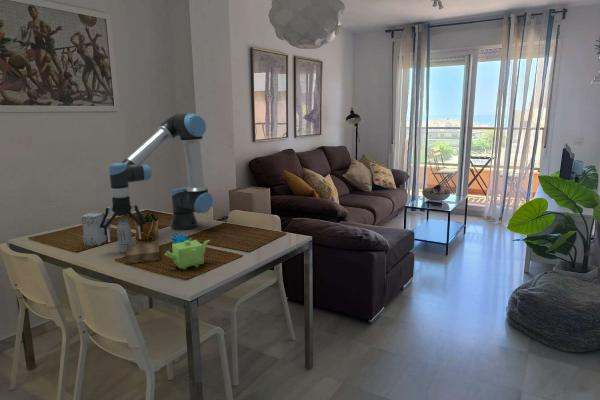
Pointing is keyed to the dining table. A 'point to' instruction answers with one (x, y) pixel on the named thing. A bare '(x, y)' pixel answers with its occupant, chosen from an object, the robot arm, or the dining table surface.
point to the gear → (179, 238)
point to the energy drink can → (124, 235)
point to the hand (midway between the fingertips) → (124, 239)
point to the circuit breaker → (94, 228)
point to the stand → (142, 253)
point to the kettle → (188, 253)
